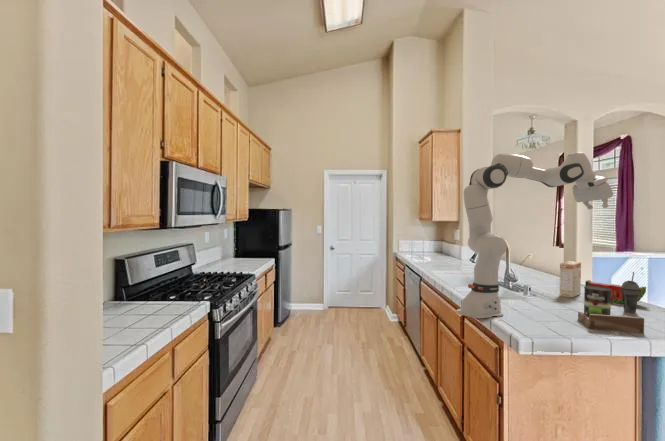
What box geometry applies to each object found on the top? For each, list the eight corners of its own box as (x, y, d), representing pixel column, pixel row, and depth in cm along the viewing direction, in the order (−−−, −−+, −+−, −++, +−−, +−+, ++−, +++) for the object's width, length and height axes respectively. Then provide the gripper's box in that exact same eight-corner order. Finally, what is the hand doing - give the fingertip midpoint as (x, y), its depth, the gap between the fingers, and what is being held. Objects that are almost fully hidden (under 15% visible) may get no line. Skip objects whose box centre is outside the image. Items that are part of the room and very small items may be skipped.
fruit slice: (584, 298, 210) (585, 281, 209) (587, 296, 214) (587, 279, 214) (644, 307, 191) (645, 288, 191) (645, 304, 195) (646, 286, 195)
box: (578, 319, 168) (578, 306, 168) (626, 323, 163) (627, 309, 163) (590, 328, 155) (590, 314, 155) (643, 333, 150) (644, 318, 150)
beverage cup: (619, 309, 186) (620, 270, 186) (637, 311, 183) (638, 271, 182) (621, 312, 180) (622, 272, 180) (640, 314, 176) (641, 273, 176)
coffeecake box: (567, 292, 226) (568, 260, 226) (581, 294, 221) (581, 262, 220) (558, 295, 217) (559, 262, 216) (572, 297, 211) (573, 264, 211)
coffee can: (608, 322, 164) (609, 291, 164) (581, 317, 171) (581, 287, 171) (612, 318, 171) (613, 288, 171) (586, 313, 178) (586, 284, 178)
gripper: (566, 187, 192) (577, 212, 192) (597, 182, 172) (609, 209, 172) (576, 183, 193) (587, 207, 192) (609, 177, 172) (621, 203, 172)
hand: (598, 208), depth 182 cm, fingers open, 8 cm apart
